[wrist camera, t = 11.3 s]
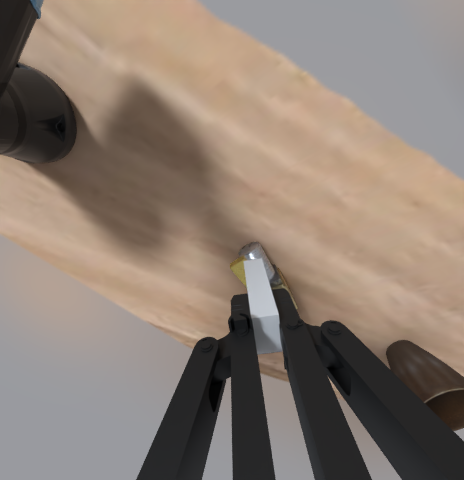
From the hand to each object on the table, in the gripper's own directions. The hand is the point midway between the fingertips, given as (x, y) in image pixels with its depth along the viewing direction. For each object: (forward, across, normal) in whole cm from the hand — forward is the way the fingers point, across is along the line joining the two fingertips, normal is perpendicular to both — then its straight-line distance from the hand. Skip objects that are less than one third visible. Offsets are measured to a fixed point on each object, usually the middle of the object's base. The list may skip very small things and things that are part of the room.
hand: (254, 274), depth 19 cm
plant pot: (+30, +38, -49) cm, 69 cm away
